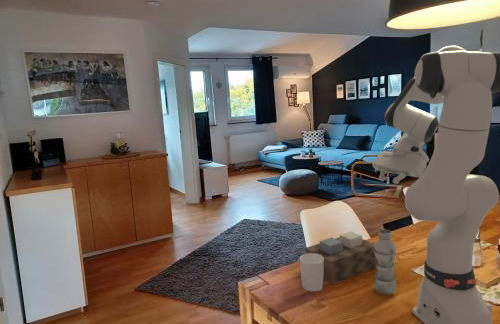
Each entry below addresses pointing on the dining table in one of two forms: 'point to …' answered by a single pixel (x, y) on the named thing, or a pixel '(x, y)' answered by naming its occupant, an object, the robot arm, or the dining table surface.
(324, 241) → the blue-grey square block
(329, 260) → the brown rectangular block
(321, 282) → the white cup
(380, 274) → the plastic bottle
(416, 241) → the dining table surface
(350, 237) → the light beige square block
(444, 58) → the robot arm
